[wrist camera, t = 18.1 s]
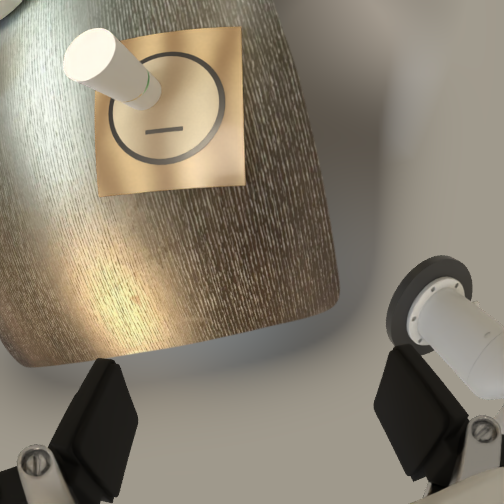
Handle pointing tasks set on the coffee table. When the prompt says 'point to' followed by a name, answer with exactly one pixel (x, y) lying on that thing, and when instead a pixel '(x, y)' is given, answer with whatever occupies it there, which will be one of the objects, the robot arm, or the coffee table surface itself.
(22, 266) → the coffee table surface
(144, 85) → the tube
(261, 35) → the coffee table surface
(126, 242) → the coffee table surface
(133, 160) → the drawing board
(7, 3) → the vase
